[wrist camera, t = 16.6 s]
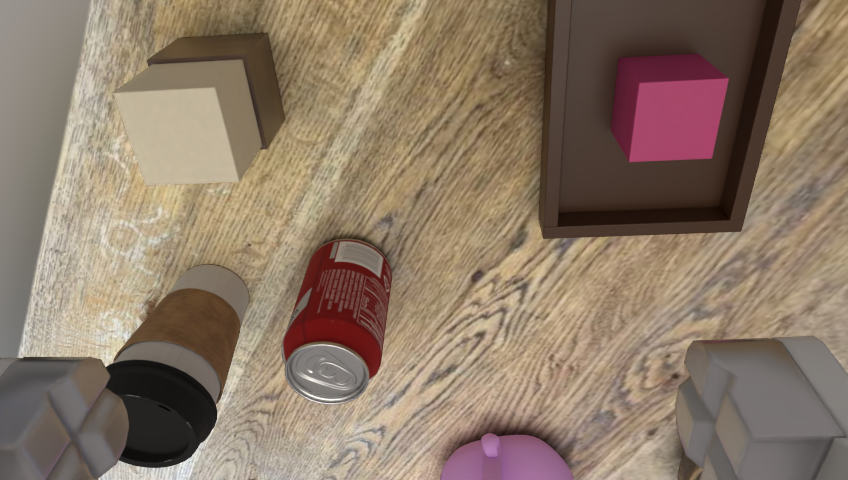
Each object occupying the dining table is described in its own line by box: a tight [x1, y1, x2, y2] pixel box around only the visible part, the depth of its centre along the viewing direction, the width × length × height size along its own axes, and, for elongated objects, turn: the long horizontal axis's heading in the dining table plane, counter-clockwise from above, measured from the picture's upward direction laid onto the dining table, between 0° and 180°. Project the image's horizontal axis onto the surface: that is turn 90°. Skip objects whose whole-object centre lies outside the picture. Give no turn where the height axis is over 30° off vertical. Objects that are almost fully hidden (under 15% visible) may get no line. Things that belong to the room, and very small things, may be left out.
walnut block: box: [147, 33, 285, 149], centre depth 39 cm, size 6×6×5 cm
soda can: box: [281, 239, 392, 405], centre depth 44 cm, size 7×7×12 cm
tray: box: [539, 0, 801, 239], centre depth 39 cm, size 20×14×3 cm
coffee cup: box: [106, 265, 249, 468], centre depth 45 cm, size 8×8×15 cm
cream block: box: [113, 59, 262, 186], centre depth 35 cm, size 6×6×5 cm
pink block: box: [611, 54, 729, 162], centre depth 38 cm, size 5×5×5 cm
